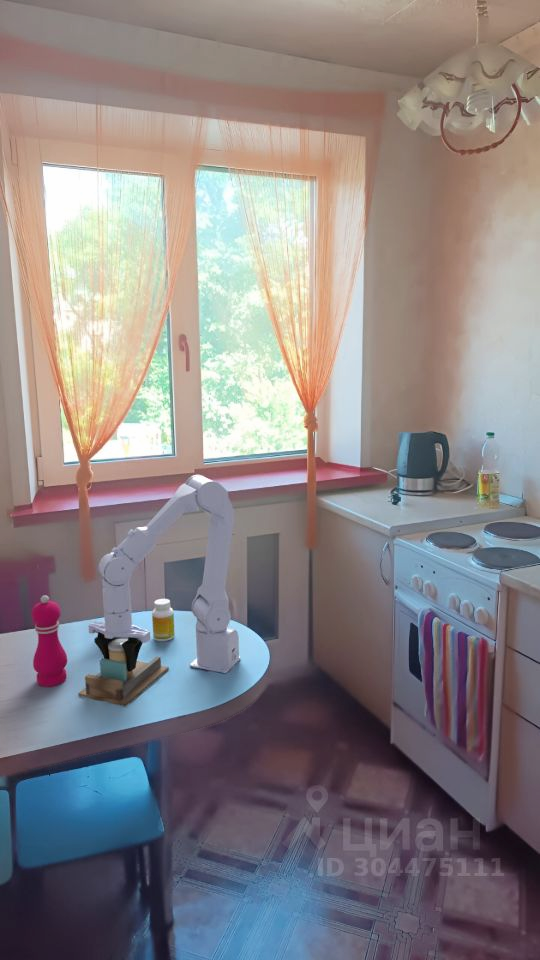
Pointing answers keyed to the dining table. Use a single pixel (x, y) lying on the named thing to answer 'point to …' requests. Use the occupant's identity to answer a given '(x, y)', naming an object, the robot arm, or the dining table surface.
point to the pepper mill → (48, 644)
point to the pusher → (113, 669)
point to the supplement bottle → (163, 620)
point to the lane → (122, 691)
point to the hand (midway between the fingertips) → (121, 667)
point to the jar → (118, 653)
